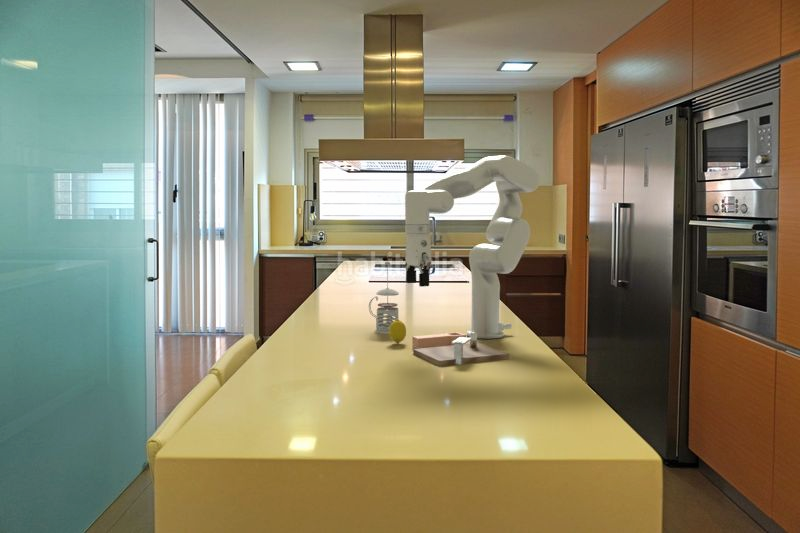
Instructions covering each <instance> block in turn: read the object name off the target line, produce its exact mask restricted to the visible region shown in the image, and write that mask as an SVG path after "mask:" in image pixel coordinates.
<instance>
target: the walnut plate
mask: <svg viewBox="0 0 800 533" xmlns="http://www.w3.org/2000/svg"><path fill="white" fill-rule="evenodd" d="M412 350H413V351H412V352H413V353H412V354H413V355H414V356H416V357H419V358H421V359H423V360H425V361H427V362H430V363H431V364H434V365H435V366H438V367H443V366H454V365H457V364H456V359H454V345H452V346H442V347H431V348H421V349H415V348H413V349H412ZM509 359H510V353H509V352H506V351H503V350H500V349H498V348H494V347H492V346H488V345H486V344H484V343H480V342H477V348H471V347H470V343H466V344H464V345H463V364H462V365H464V364H470V363H471V364H472V363H480V362H489V361H499V360H509Z"/></svg>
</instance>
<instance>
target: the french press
mask: <svg viewBox="0 0 800 533" xmlns="http://www.w3.org/2000/svg"><path fill="white" fill-rule="evenodd" d="M384 265H385V266H386V267H387V269H386V270H387V275H386V277H387V278H386V280H387V281H386V283H387V285H386V286H387V287H386V288H383V289H382V288H381V289H380V290H378V291H377V292H375V293H376V295H378V296H382V297H383V296H385V297H386V296H387V300H386V301H387V302H380V303H378V304H377V306H378V308H377V309H376V315H375V314H374V313H373V311H372V308H371V307H372V306H371V305H372V302H373V300H374V299H375V300H376V302H378V300H379V297H378V296H374V297H372V299H370V300H369V303H368V311H369V313H370V315H371V316H372V317H374V318H375V319H376V322H375V323H376V325H375V327H376V328H375V329H374V331H373V333H375V334H380V335H381V334H382V335H389V328H390V325H391V324H392V322H394V321H396V320H397V319H398V320H399V308H398V303H395V302H389V296H391V297H393V296H394V297H395V296H398V295H400V293H399V291H397V290H395V289H393V288H389V266H390V265H391V262H390V261H385V262H384Z"/></svg>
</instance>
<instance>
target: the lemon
mask: <svg viewBox="0 0 800 533" xmlns="http://www.w3.org/2000/svg"><path fill="white" fill-rule="evenodd" d="M393 321H394V322H392V324H391V325H390V328H389V334H388V335H389V338H390V339H391V340H392V342H394V343H395V344H396V345H397V344H399V343H401V342H402V341H404V340H405V338H406V336H407V328H406V325H405V323H404V322H403V321H402V320H400V319H399V318H398V319H397V320H396V321H395V320H393Z"/></svg>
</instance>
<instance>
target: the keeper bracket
mask: <svg viewBox="0 0 800 533" xmlns="http://www.w3.org/2000/svg"><path fill="white" fill-rule="evenodd" d="M470 340H471V338H470V337H467V336H466V337H459V338H457V339H456V340H454V341H453V342H452V344H454V359H456V364H455V365H459V366H461V365H464V364H463V345H464V344H468V342H469V341H470Z"/></svg>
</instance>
